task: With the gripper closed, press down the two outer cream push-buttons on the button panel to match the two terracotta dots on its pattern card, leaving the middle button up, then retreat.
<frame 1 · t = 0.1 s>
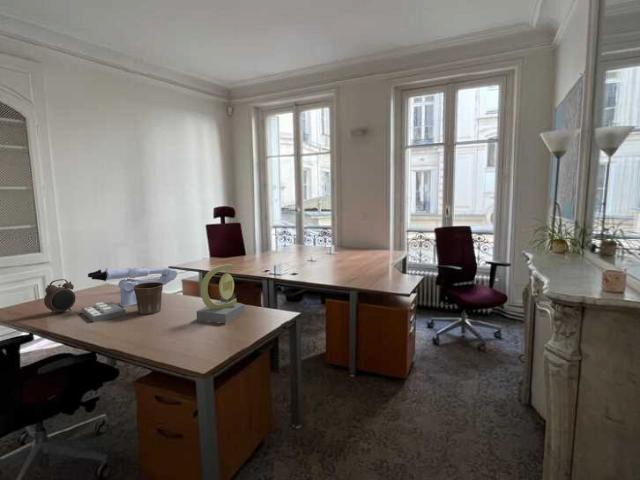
hand: (89, 276, 204), 22 cm above the table, tool horizontal, fingers open, 7 cm apart
button b: (103, 308, 201), point 3 cm above the table, slide at 0.0 cm
button c: (107, 310, 197), point 3 cm above the table, slide at 0.0 cm
plant pot: (150, 311, 206), on the table
button a: (99, 305, 206), point 3 cm above the table, slide at 0.0 cm
button panel: (103, 313, 202), on the table
alarm clock: (62, 312, 205), on the table
trophy: (221, 317, 195), on the table
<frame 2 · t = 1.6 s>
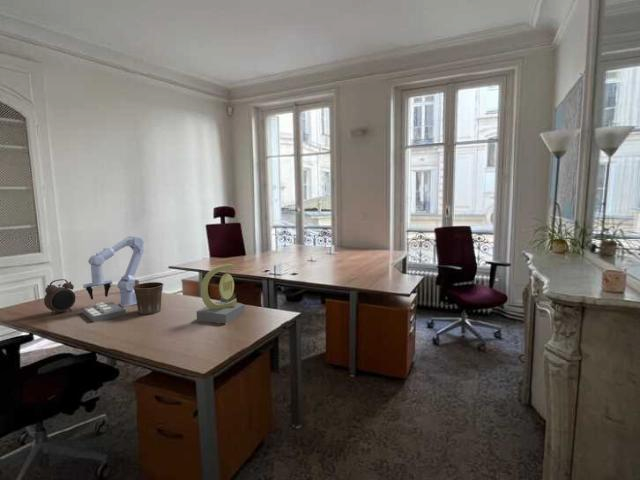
hand: (99, 297, 205), 8 cm above the table, tool pointing down, fingers open, 7 cm apart
nothing on the table moved.
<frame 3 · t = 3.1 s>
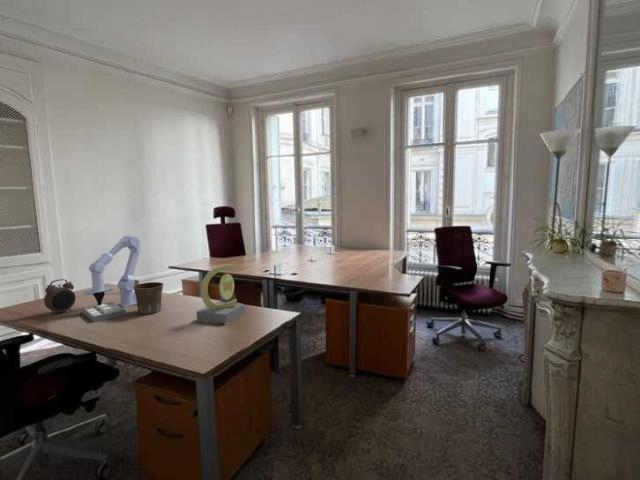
hand: (99, 304, 206), 4 cm above the table, tool pointing down, fingers closed, pressing on button a
button a: (100, 307, 206), point 3 cm above the table, slide at 0.9 cm, touching gripper
everything else where it was.
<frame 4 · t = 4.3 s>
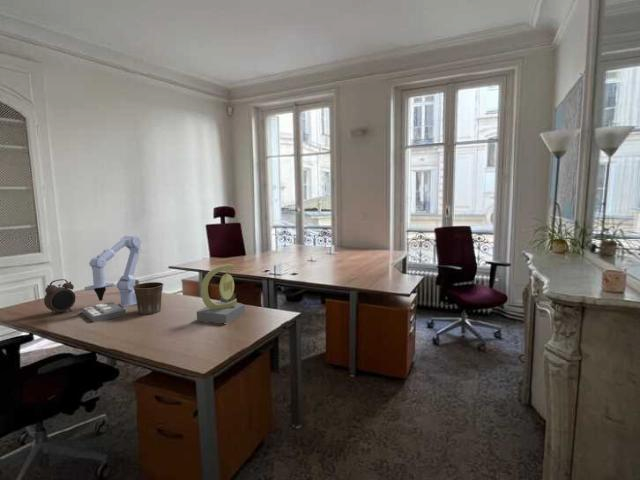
hand: (100, 300, 203), 7 cm above the table, tool pointing down, fingers closed
button a: (100, 307, 206), point 2 cm above the table, slide at 1.1 cm
everything else where it was.
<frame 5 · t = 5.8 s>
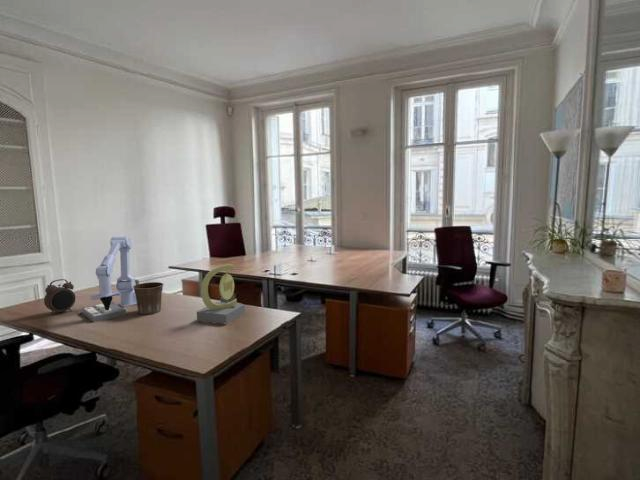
hand: (107, 309, 196), 4 cm above the table, tool pointing down, fingers closed, pressing on button c
button c: (107, 312, 197), point 2 cm above the table, slide at 1.0 cm, touching gripper
everything else where it was.
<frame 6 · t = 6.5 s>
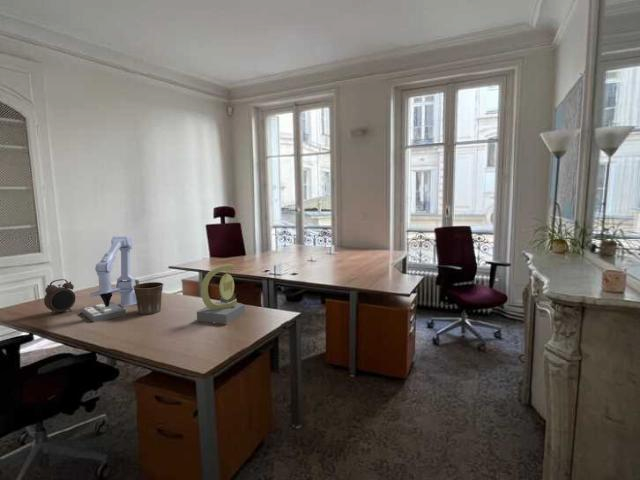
hand: (106, 306, 196), 6 cm above the table, tool pointing down, fingers closed
button c: (107, 312, 197), point 2 cm above the table, slide at 1.1 cm
everything else where it was.
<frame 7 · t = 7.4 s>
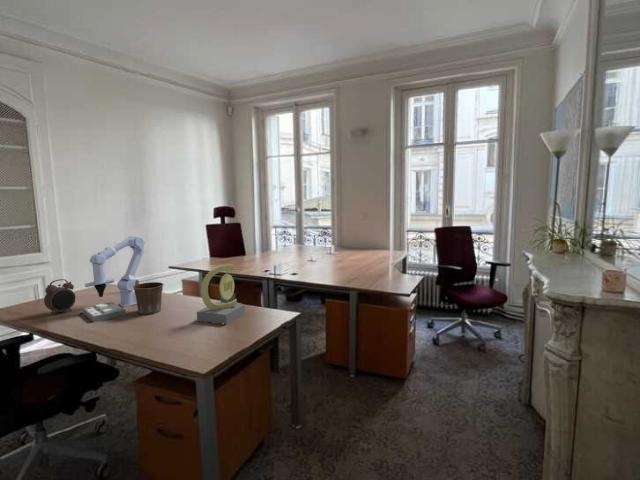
hand: (101, 296, 205), 9 cm above the table, tool pointing down, fingers closed
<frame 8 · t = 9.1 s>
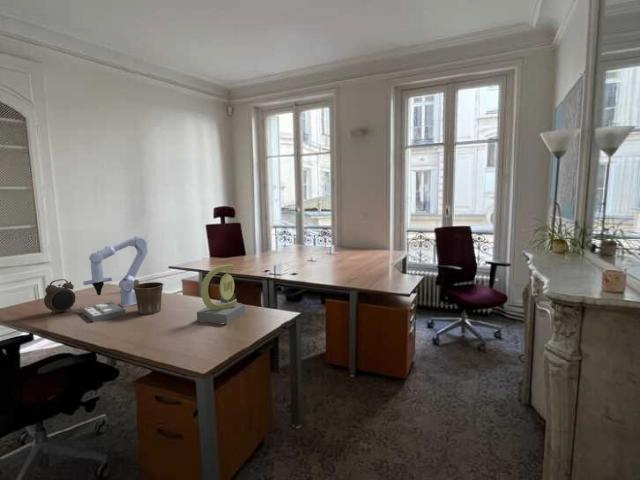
hand: (98, 294, 209), 9 cm above the table, tool pointing down, fingers closed
at the end: button a slide at 1.1 cm; button c slide at 1.1 cm; button b slide at 0.0 cm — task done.
